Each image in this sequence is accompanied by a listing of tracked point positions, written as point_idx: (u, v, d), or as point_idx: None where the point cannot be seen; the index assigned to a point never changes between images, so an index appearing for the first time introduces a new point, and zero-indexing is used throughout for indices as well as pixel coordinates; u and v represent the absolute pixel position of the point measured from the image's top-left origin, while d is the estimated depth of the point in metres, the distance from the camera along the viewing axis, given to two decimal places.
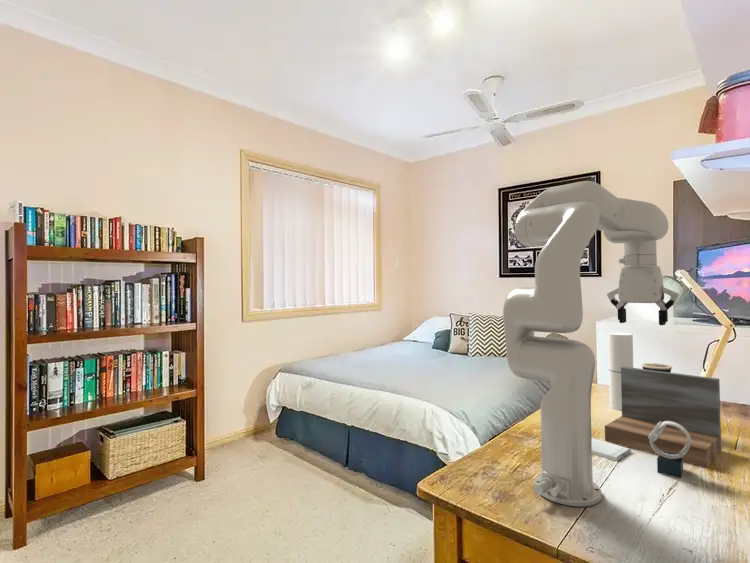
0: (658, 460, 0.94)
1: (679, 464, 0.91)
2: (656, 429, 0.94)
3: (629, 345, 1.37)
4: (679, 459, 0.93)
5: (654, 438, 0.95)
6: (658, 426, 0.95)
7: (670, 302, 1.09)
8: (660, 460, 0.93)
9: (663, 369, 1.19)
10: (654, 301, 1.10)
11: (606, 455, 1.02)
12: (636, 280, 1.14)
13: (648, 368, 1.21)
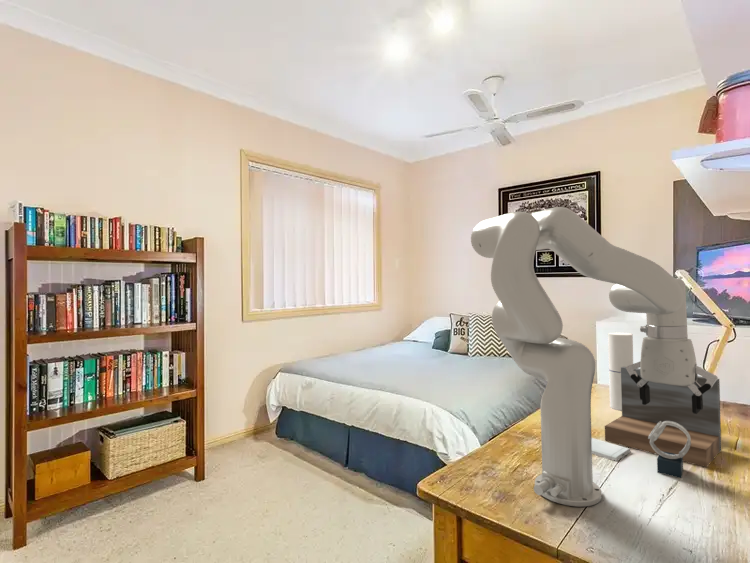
0: (658, 460, 0.94)
1: (679, 464, 0.91)
2: (656, 429, 0.94)
3: (629, 345, 1.37)
4: (679, 459, 0.93)
5: (654, 438, 0.95)
6: (658, 426, 0.95)
7: (706, 386, 0.89)
8: (660, 460, 0.93)
9: None
10: (686, 384, 0.90)
11: (606, 456, 1.02)
12: (662, 356, 0.93)
13: None
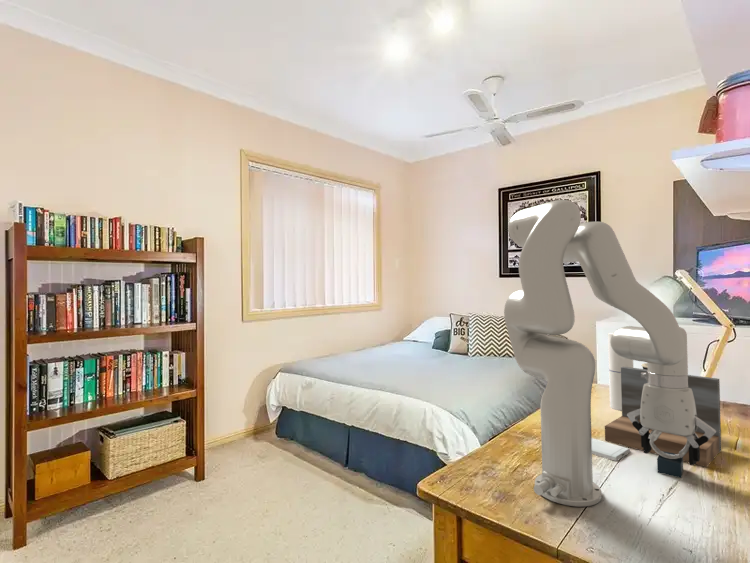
0: (658, 460, 0.94)
1: (679, 464, 0.91)
2: None
3: None
4: (679, 459, 0.93)
5: (654, 438, 0.95)
6: None
7: (703, 439, 0.89)
8: (660, 460, 0.93)
9: None
10: (686, 435, 0.90)
11: (605, 455, 1.02)
12: (663, 404, 0.93)
13: None
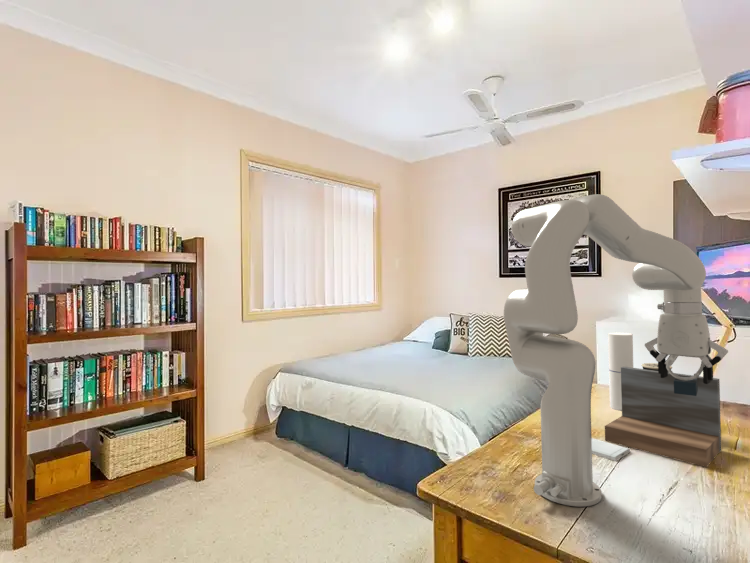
0: (674, 382, 1.02)
1: (694, 383, 0.99)
2: None
3: (629, 345, 1.37)
4: (694, 380, 1.01)
5: (670, 362, 1.03)
6: None
7: (716, 359, 0.97)
8: (677, 382, 1.02)
9: None
10: (700, 356, 0.98)
11: (605, 455, 1.02)
12: (678, 330, 1.01)
13: (648, 368, 1.21)
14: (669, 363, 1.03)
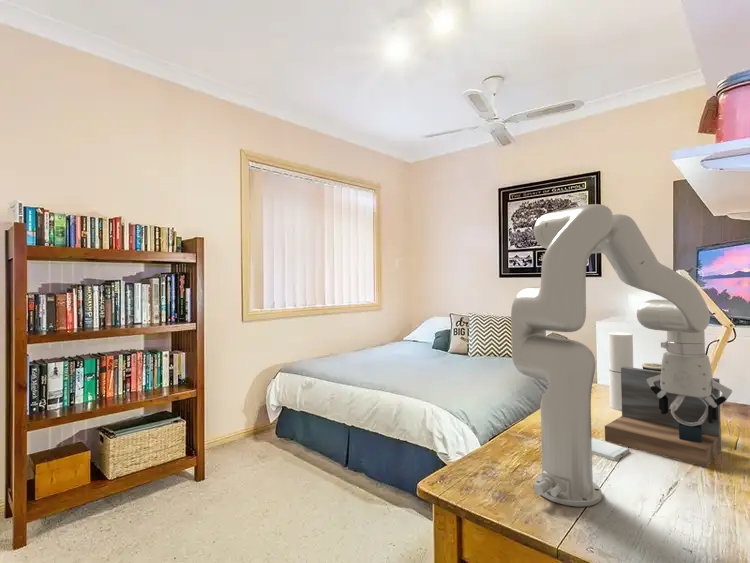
0: (680, 427, 1.02)
1: (699, 430, 1.00)
2: (677, 399, 1.03)
3: (629, 345, 1.37)
4: (699, 426, 1.02)
5: (675, 407, 1.03)
6: (678, 396, 1.03)
7: (722, 399, 0.98)
8: (682, 428, 1.02)
9: None
10: (703, 397, 0.99)
11: (604, 455, 1.02)
12: (682, 370, 1.02)
13: (648, 368, 1.21)
14: (674, 408, 1.04)
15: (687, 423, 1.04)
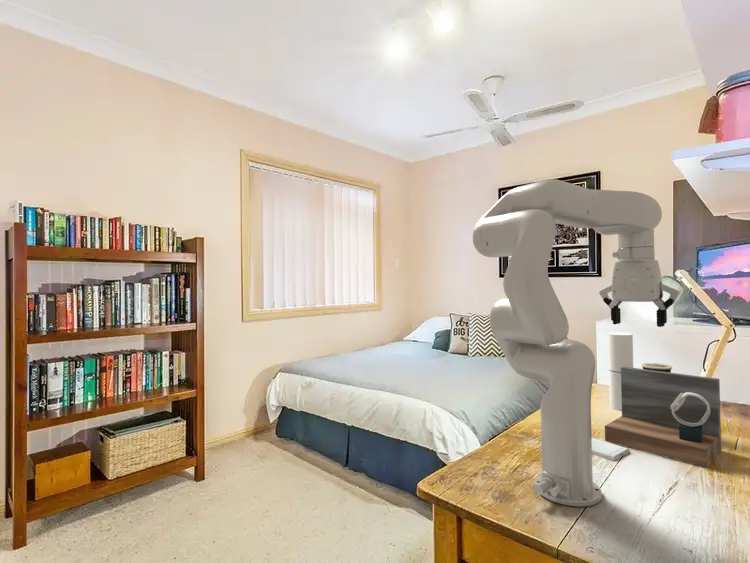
0: (680, 427, 1.02)
1: (700, 430, 1.00)
2: (678, 399, 1.03)
3: (629, 345, 1.37)
4: (699, 426, 1.02)
5: (676, 408, 1.03)
6: (680, 397, 1.03)
7: (669, 301, 0.97)
8: (682, 428, 1.02)
9: (663, 369, 1.19)
10: (651, 299, 0.98)
11: (603, 455, 1.02)
12: (631, 275, 1.01)
13: (648, 368, 1.21)
14: (675, 408, 1.04)
15: (688, 423, 1.03)
